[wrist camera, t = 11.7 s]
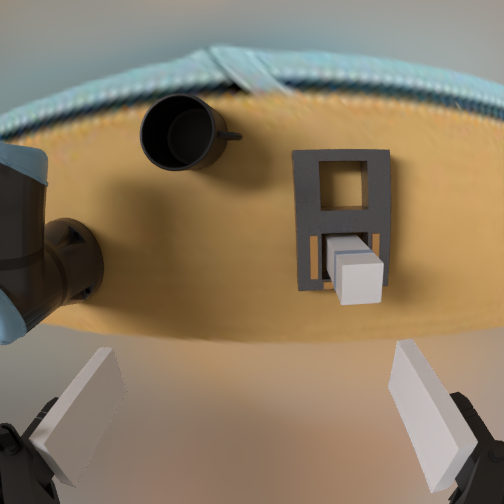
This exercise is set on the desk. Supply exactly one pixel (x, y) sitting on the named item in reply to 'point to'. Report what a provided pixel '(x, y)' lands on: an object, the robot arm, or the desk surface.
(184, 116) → the mug
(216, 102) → the desk surface
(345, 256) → the plug
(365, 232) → the jack panel
